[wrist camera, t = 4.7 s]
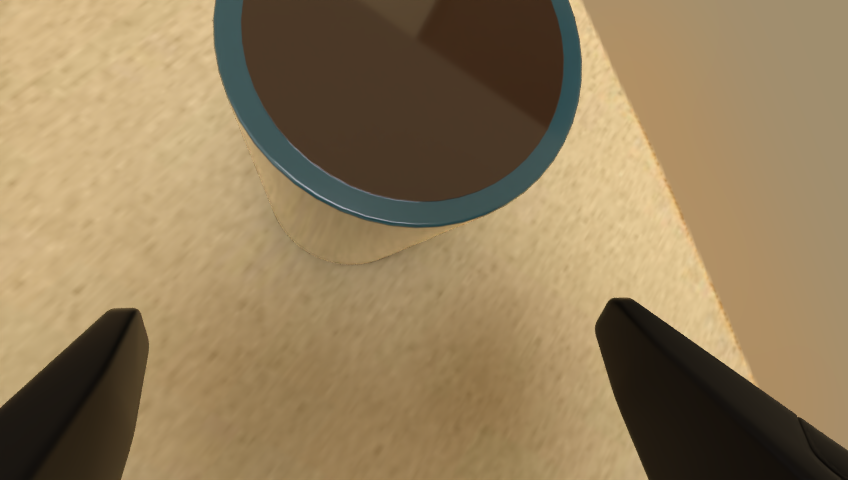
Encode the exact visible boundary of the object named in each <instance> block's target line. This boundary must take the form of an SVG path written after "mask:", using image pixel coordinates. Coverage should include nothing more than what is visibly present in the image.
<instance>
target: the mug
mask: <svg viewBox="0 0 848 480" xmlns="http://www.w3.org/2000/svg"><path fill="white" fill-rule="evenodd" d="M213 35H214V49H215V54H216V60H217V65H218V71H219V74H220V77H221V80H222V83H223V86H224V89H225V92H226V95H227V98H228V101H229V103H230V106H231V108H232V111H233V113H234V115H235V118H236V120H237V123H238V125H239V128H240V130H241V133H242V135H243V138H244V140H245V143H246V145H247V148H248V150H249V153H250V155H251V158H252V160H253V163H254V165H255V168H256V170H257V173H258V175H259V177H260V180H261V182H262V185H263V187H264V190H265V192H266V195H267V197H268V200H269V202H270V205H271V207H272V210H273V212H274V214H275V216H276V219H277V221H278V223H279V224H280V226H281V227H282V229H283V230H284V232H285V233H286V234H287V235H288V236H289V237H290V239H291V240H292V241H293V242H295V243H296V244H297V245H298V246H299V247H300V248H302V249H303V250H305V251H306V252H308V253H309V254H311V255H313V256H315V257H317V258H319V259H322V260H325V261H328V262H332V263H337V264H346V265H356V264H365V263H370V262H374V261H377V260H380V259H382V258H385V257H387V256H390V255H392V254H394V253H397V252H399V251H402V250H404V249H406V248H409V247H411V246H414V245H416V244H418V243H421V242H423V241H426V240H428V239H430V238H433V237H435V236H438V235H440V234H442V233H445V232H447V231H450V230H452V229H454V228H457V227H459V226H462V225H464V224H466V223H469V222H471V221H474V220H476V219H479V218H481V217H483V216H486V215H488V214H490V213H492V212H494V211H496V210H498V209H500V208H502V207H504V206H506V205H507V204H509V203H510V202H511V201H513V200H514V199H516V198H517V197H519V196H520V195H522V194H523V193H524V192H525V191H526V190H528V189H529V188H530V187H531V186H532V185H533V184H534V183H535V182H536V181H537V180H538V179H539V178H540V177H541V176H542V175H543V174H544V172H545V171H546V170H547V169H548V167H549V166H550V165H551V164H552V163H553V161H554V159H555V158H556V156H557V154H558V153H559V151H560V149H561V148H562V146H563V144H564V142H565V140H566V138H567V135H568V133H569V131H570V128H571V126H572V124H573V120H574V117H575V113H576V109H577V106H578V102H579V95H580V88H581V76H582V58H581V49H580V39H579V35H578V30H577V26H576V21H575V17H574V14H573V11H572V9H571V6H570V3H569V0H215V6H214V15H213Z"/></svg>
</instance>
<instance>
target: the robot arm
mask: <svg viewBox="0 0 848 480" xmlns="http://www.w3.org/2000/svg"><path fill="white" fill-rule="evenodd" d="M595 334H596V337H597V341H598V344H599V347H600V351H601V354H602V357H603V361H604V364H605V367H606V371H607V374H608V377H609V380H610V384H611V387H612V390H613V393H614V396H615V399H616V402H617V404H618V407H619V409H620V412H621V414H622V417H623V419H624V422H625V424H626V426H627V429H628V431H629V434H630V436H631V438H632V441H633V443H634V446H635V448H636V450H637V453H638V455H639V458H640V460H641V462H642V465H643V467H644V470H645V472H646V474H647V477H648V479H649V480H848V450H846V449H845V448H843V447H842V446H841V445H839V444H837V443H836V442H835V441H833V440H832V439H830V438H829V437H827V436H826V435H824V434H823V433H822V432H820V431H819V430H817V429H816V428H814V427H813V426H812V425H810V424H809V423H807V422H806V421H805V420H803V419H802V418H799V417H797V415H796V414H794V413H793V412H792V411H790V410H788V409H787V408H786V407H785V406H783V405H782V404H780V403H779V402H778V401H776V400H774V399H773V398H772V397H770V396H769V395H768V394H766V393H765V392H763V391H762V390H761V389H759V388H758V387H756V386H755V385H753V384H752V383H751V382H749V381H748V380H746V379H745V378H744V377H742V376H741V375H739V374H738V373H736V372H735V371H734V370H732V369H731V368H729V367H728V366H727V365H725V364H724V363H722V362H721V361H719V360H718V359H717V358H715V357H714V356H712V355H711V354H710V353H708V352H707V351H705V350H704V349H702V348H701V347H700V346H698V345H697V344H695V343H694V342H692V341H691V340H690V339H688V338H687V337H685V336H684V335H683V334H681V333H680V332H678V331H677V330H675V329H674V328H673V327H671V326H670V325H668V324H667V323H666V322H664V321H663V320H661V319H660V318H658V317H657V316H656V315H654V314H653V313H651V312H650V311H649V310H647V309H646V308H644V307H643V306H641V305H640V304H639V303H637V302H636V301H634V300H633V299H631V298H612V299H610V300H609V301H608V303H607V304H606V306H605V308H604V310H603V311H602V313H601V315H600V317H599V319H598V320H597V322H596V325H595ZM148 352H149V340H148V336H147V333H146V329H145V326H144V323H143V319H142V316H141V313H140V311H139V310H138V309H136V308H114V309H111V310H109V311H107V312H106V313H105V314H104V315H102V316H101V317H100V318H99V319H98V320H97V321H96V322H95V323H94V324H92V325H91V326H90V327H89V328H88V329H87V330H86V331H85V332H84V333H83V334H81V335H80V336H79V337H78V338H77V339H76V340H75V341H74V342H73V343H71V344H70V345H69V346H68V347H67V348H66V349H65V350H64V351H63V352H61V353H60V354H59V355H58V356H57V357H56V358H55V359H54V360H53V361H52V362H50V363H49V364H48V365H47V366H46V367H45V368H44V369H43V370H42V371H40V372H39V373H38V374H37V375H36V376H35V377H34V378H33V379H32V380H31V381H29V382H28V383H27V384H26V385H25V386H24V387H23V388H22V389H21V390H19V391H18V392H17V393H16V394H15V395H14V396H13V397H12V398H11V399H9V400H8V401H7V402H6V403H5V404H4V405H3V406H2V407H1V408H0V480H121V477H122V474H123V471H124V467H125V464H126V461H127V458H128V454H129V451H130V447H131V444H132V440H133V436H134V431H135V426H136V421H137V415H138V409H139V404H140V398H141V392H142V387H143V381H144V375H145V369H146V364H147V358H148Z"/></svg>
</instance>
